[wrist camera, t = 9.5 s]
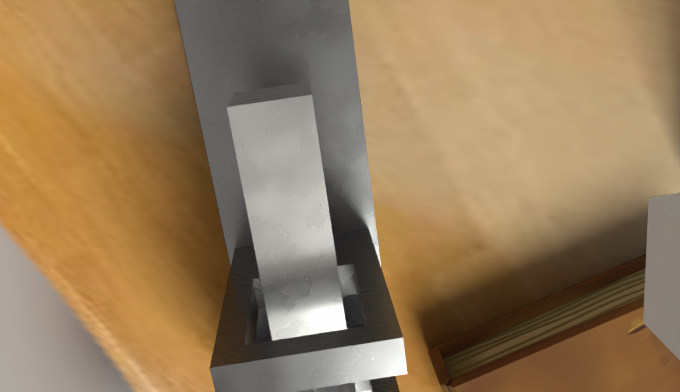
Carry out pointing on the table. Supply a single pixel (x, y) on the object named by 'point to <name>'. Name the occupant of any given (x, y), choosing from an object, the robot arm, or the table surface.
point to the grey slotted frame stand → (340, 180)
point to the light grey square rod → (288, 211)
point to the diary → (565, 344)
